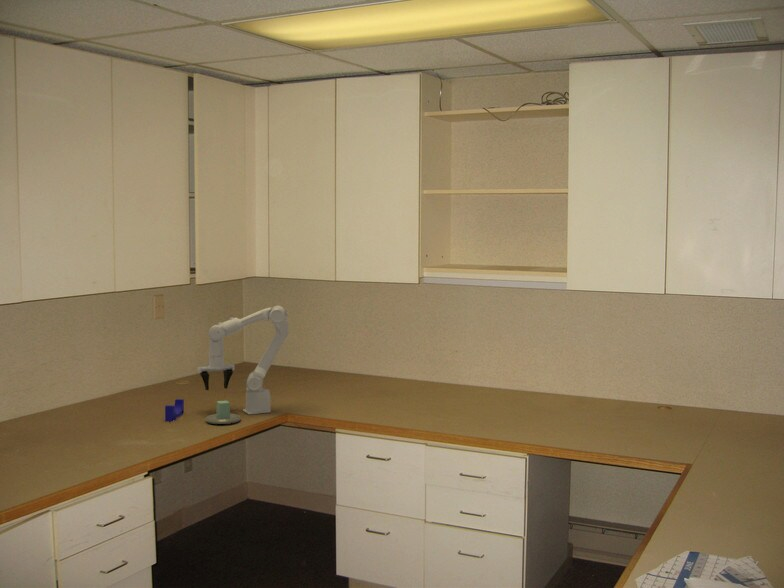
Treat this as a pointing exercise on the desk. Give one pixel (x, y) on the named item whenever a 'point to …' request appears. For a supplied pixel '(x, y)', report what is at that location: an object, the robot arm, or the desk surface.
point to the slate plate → (215, 420)
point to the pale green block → (223, 409)
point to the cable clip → (174, 410)
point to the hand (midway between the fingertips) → (216, 389)
